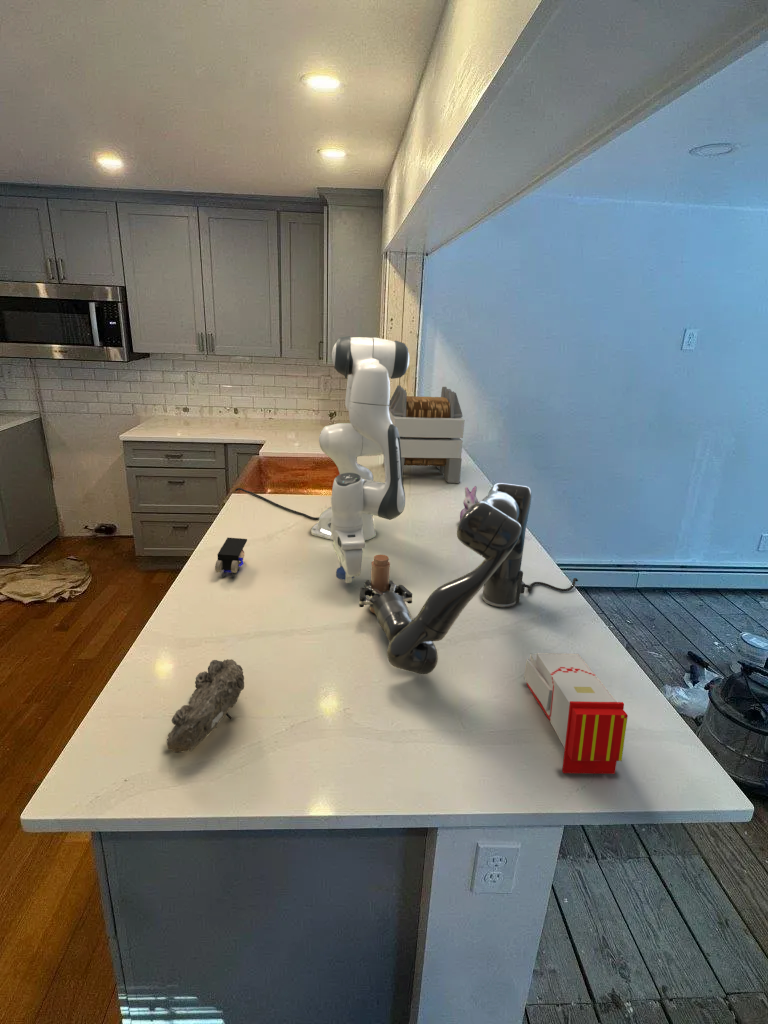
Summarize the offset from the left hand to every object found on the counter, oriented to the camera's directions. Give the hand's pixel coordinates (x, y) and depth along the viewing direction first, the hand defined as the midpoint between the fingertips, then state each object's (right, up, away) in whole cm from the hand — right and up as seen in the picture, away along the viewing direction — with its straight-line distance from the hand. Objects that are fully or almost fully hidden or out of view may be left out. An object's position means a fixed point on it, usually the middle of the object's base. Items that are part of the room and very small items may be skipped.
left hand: (345, 576), depth 162 cm
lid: (0, +2, -1) cm, 2 cm away
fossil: (-22, -21, -54) cm, 62 cm away
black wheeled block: (-34, +1, +6) cm, 34 cm away
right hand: (+9, 0, -13) cm, 16 cm away
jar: (+10, -7, -13) cm, 17 cm away
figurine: (+43, +13, +48) cm, 66 cm away
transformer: (+28, +37, +113) cm, 122 cm away
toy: (+46, -23, -51) cm, 72 cm away
